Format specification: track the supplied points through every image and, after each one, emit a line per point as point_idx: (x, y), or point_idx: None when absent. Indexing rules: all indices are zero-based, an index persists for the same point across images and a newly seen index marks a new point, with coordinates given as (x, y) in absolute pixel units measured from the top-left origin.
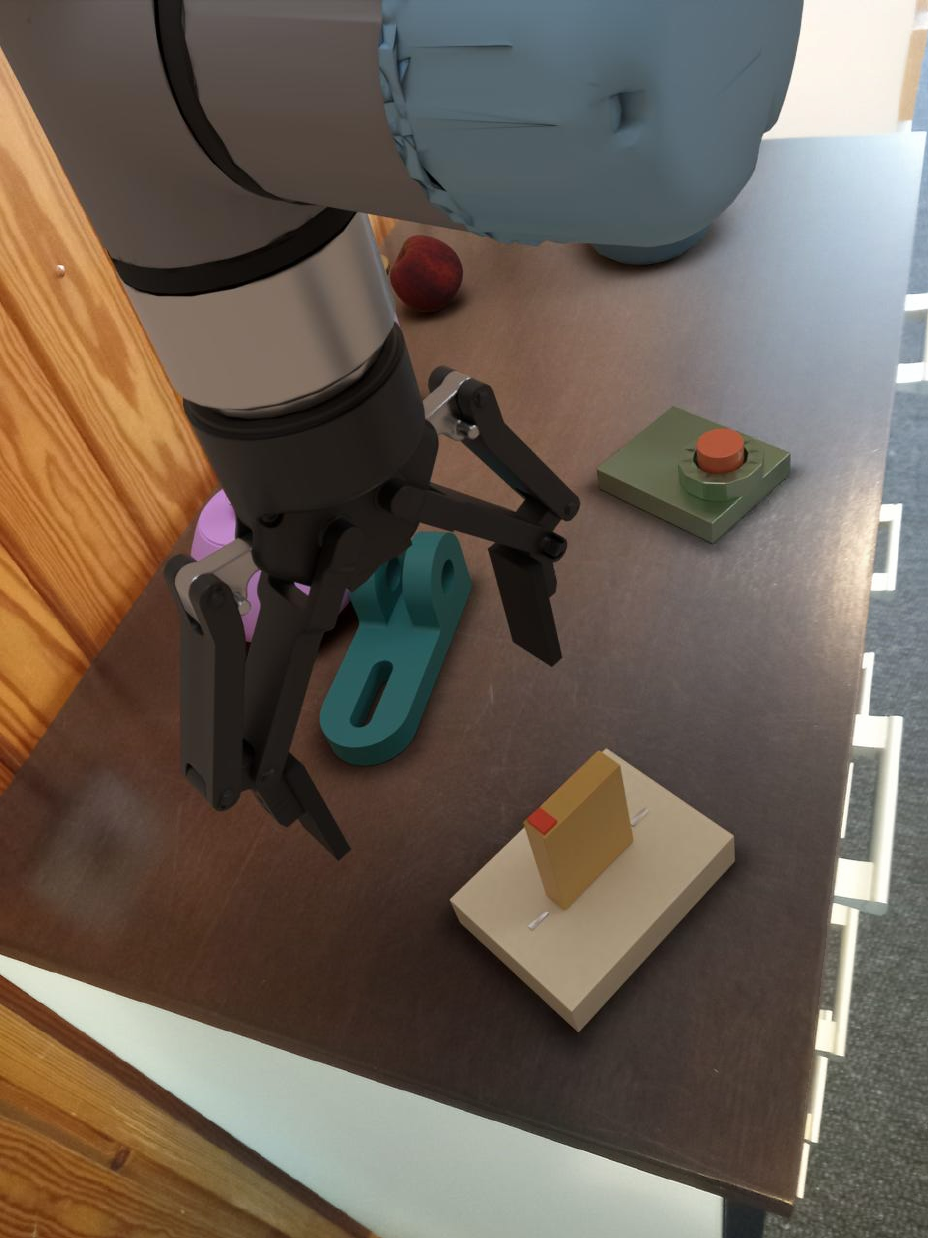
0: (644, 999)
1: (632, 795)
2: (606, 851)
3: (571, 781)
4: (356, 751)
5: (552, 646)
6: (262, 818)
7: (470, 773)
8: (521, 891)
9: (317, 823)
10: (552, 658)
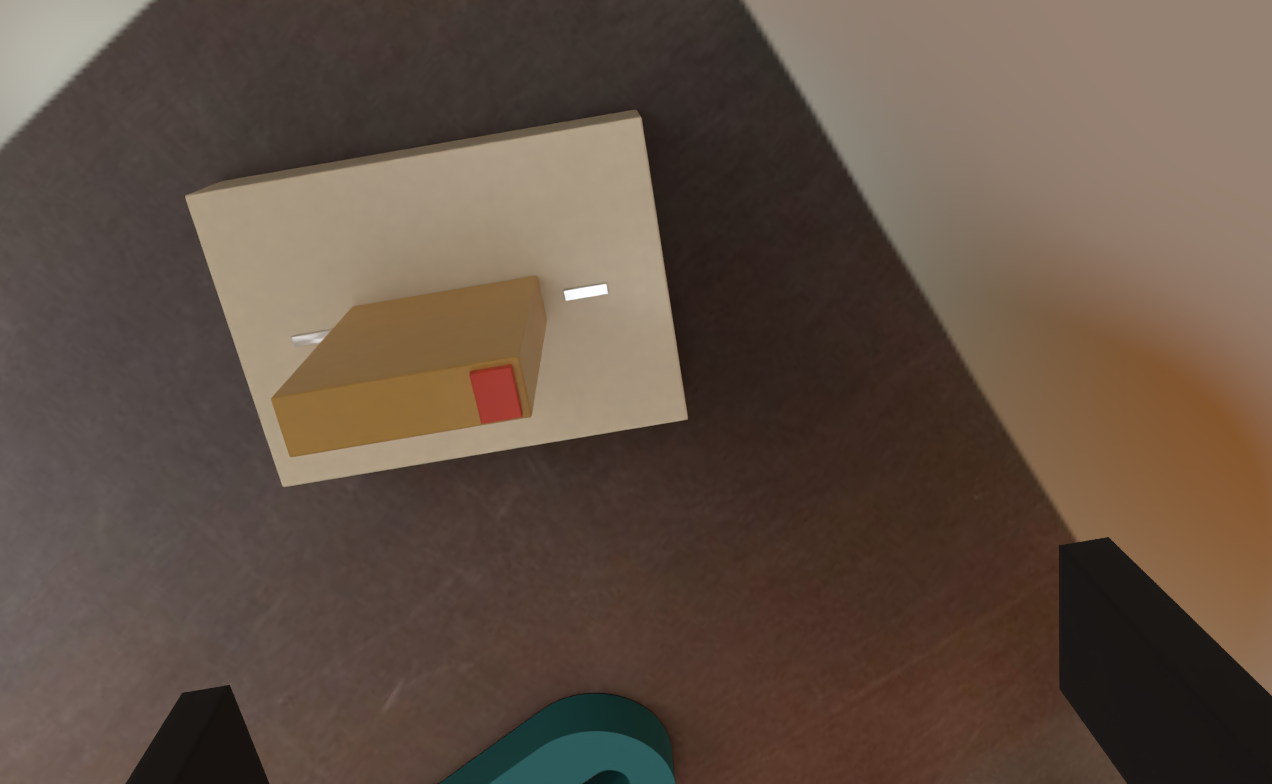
0: (511, 83)
1: None
2: (409, 309)
3: (386, 432)
4: (649, 738)
5: (175, 746)
6: (827, 724)
7: (510, 595)
8: (578, 354)
9: (1235, 665)
10: (207, 709)
